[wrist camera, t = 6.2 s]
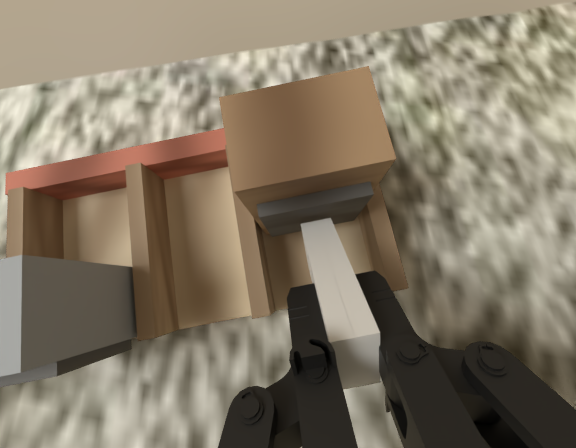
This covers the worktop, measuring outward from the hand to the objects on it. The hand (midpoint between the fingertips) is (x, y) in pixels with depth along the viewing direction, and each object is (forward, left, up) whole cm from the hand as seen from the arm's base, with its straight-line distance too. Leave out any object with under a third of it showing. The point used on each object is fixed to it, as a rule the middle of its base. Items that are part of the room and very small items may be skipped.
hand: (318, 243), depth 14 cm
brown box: (0, -4, -4) cm, 6 cm away
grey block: (+14, +1, -4) cm, 15 cm away
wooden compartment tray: (+7, -3, -6) cm, 10 cm away
